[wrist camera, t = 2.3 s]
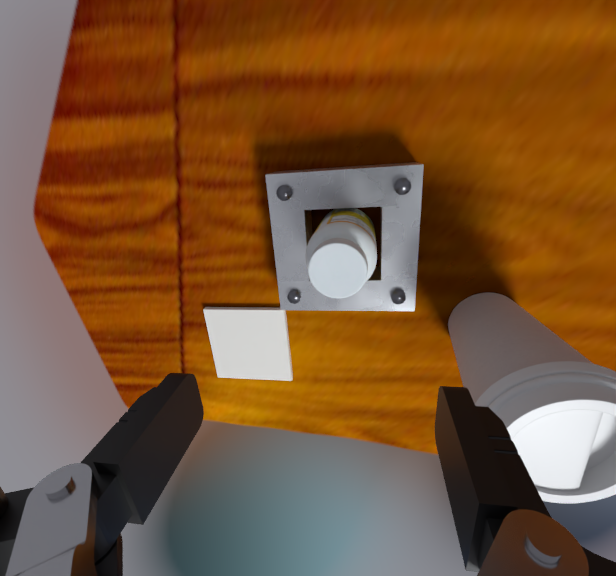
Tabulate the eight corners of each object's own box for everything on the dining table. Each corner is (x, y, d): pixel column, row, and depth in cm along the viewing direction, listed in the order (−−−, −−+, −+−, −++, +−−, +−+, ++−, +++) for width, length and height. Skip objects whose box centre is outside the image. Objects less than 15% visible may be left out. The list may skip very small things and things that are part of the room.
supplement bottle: (356, 194, 29) (352, 215, 20) (386, 244, 30) (394, 284, 22) (306, 226, 31) (282, 258, 22) (336, 272, 32) (325, 319, 24)
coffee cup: (504, 376, 34) (598, 532, 20) (415, 345, 34) (448, 479, 20) (561, 297, 30) (727, 425, 16) (460, 262, 30) (538, 360, 16)
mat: (285, 307, 35) (284, 310, 34) (293, 377, 38) (291, 380, 38) (205, 306, 36) (203, 309, 36) (219, 374, 40) (217, 377, 39)
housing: (416, 162, 27) (424, 164, 24) (409, 294, 32) (415, 313, 28) (276, 171, 29) (263, 175, 26) (288, 294, 34) (279, 311, 30)
